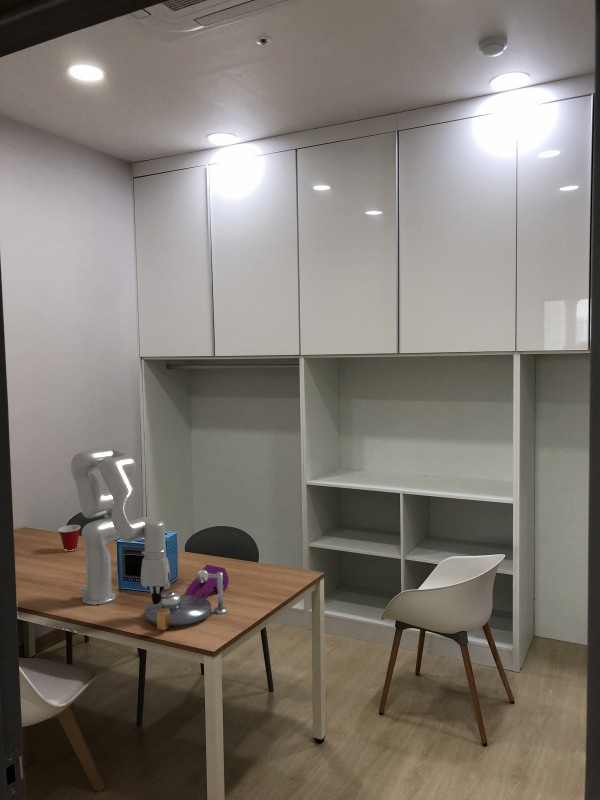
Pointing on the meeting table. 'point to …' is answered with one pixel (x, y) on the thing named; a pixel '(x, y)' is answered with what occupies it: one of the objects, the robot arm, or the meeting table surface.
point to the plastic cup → (69, 536)
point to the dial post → (203, 577)
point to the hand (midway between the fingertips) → (156, 602)
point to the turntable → (178, 612)
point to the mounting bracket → (207, 583)
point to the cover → (170, 601)
